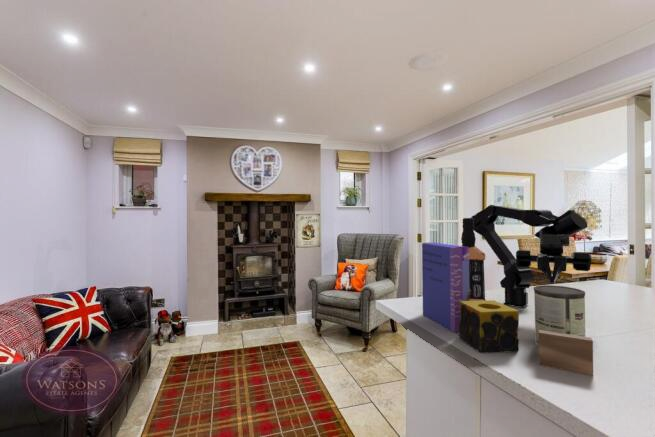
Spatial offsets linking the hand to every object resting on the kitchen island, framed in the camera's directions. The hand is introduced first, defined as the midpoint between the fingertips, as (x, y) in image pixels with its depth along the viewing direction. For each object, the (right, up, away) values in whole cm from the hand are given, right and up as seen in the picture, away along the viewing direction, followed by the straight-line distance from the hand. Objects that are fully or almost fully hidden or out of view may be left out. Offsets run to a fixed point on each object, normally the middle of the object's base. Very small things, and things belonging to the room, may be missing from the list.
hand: (552, 282), depth 93 cm
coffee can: (-9, -13, -15) cm, 22 cm away
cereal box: (-30, -13, +4) cm, 33 cm away
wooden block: (-14, -13, -24) cm, 31 cm away
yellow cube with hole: (-26, -13, -13) cm, 32 cm away
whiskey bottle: (-16, -13, +20) cm, 29 cm away
